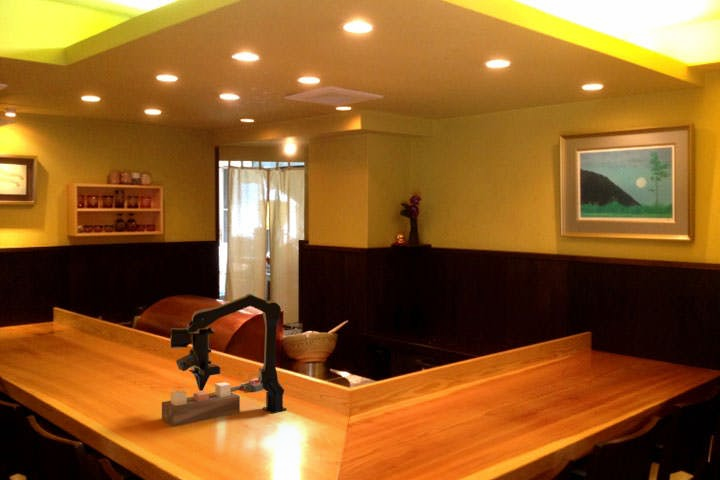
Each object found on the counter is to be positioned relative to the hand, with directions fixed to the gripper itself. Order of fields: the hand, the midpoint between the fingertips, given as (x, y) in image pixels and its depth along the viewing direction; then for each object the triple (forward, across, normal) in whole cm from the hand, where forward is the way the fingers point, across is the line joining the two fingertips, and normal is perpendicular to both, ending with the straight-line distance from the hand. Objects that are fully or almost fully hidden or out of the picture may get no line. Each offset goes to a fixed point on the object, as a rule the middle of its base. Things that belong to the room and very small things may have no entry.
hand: (200, 390), depth 246 cm
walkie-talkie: (+10, -20, +32) cm, 39 cm away
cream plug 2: (+5, 0, +9) cm, 10 cm away
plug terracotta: (+7, 0, 0) cm, 7 cm away
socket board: (+9, 0, 0) cm, 9 cm away
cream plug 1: (+5, 0, -8) cm, 10 cm away
